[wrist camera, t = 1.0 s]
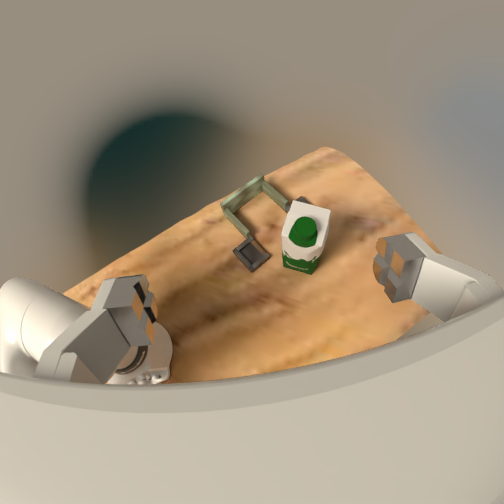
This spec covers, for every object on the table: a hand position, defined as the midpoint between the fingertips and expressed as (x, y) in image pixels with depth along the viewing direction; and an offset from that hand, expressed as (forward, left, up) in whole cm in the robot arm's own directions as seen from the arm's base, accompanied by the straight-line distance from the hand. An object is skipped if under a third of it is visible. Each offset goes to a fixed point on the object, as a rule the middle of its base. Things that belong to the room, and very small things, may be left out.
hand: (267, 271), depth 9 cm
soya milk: (+18, +12, -54) cm, 58 cm away
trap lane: (+18, +26, -53) cm, 62 cm away
